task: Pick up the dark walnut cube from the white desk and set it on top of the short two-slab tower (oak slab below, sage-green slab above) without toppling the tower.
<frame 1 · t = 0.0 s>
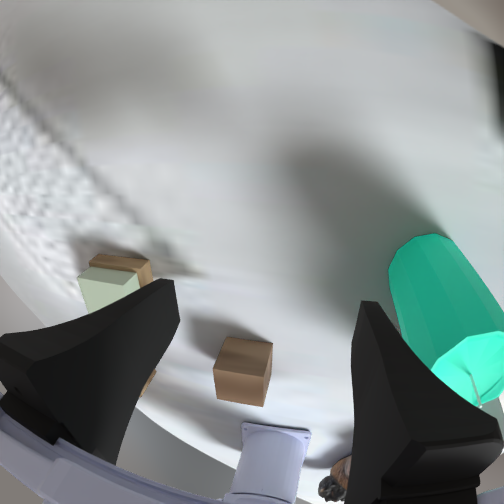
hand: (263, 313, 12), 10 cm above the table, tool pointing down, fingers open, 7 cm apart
skincare box: (433, 344, 22), on the table
slab top: (119, 294, 25), point 2 cm above the table, touching slab bottom
bison figurine: (360, 453, 32), on the table
slab bottom: (131, 281, 27), on the table, touching slab top
walnut cube: (249, 355, 27), on the table
candle: (425, 270, 20), on the table
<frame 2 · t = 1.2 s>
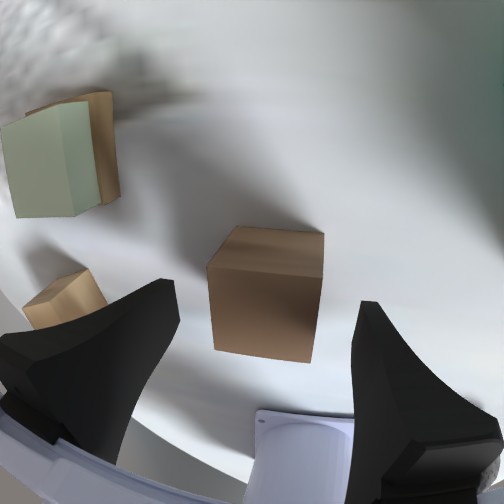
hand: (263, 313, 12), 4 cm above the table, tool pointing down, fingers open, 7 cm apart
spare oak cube: (86, 298, 19), on the table
slab top: (59, 158, 13), point 1 cm above the table, touching slab bottom
bison figurine: (428, 449, 20), on the table
slab bottom: (83, 147, 15), on the table, touching slab top
walnut cube: (278, 268, 15), on the table
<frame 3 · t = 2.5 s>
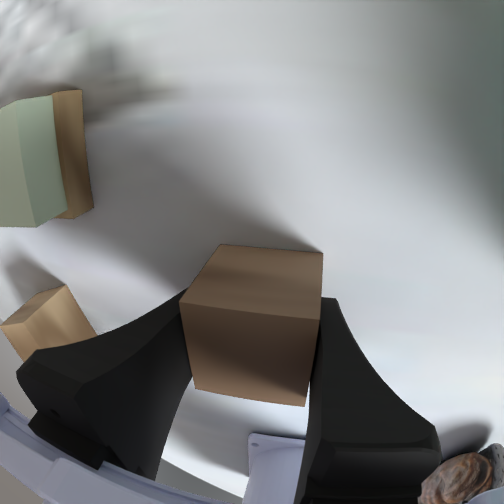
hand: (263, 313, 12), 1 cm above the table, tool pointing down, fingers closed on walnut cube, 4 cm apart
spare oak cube: (66, 315, 17), on the table
slab top: (25, 160, 11), point 1 cm above the table, touching slab bottom
bison figurine: (433, 467, 18), on the table
slab bottom: (55, 152, 13), on the table, touching slab top
walnut cube: (269, 292, 13), on the table, touching gripper
when the fingers open (7 cm above the table, at t = 5.5 s): walnut cube drops 1 cm, resting on slab top.
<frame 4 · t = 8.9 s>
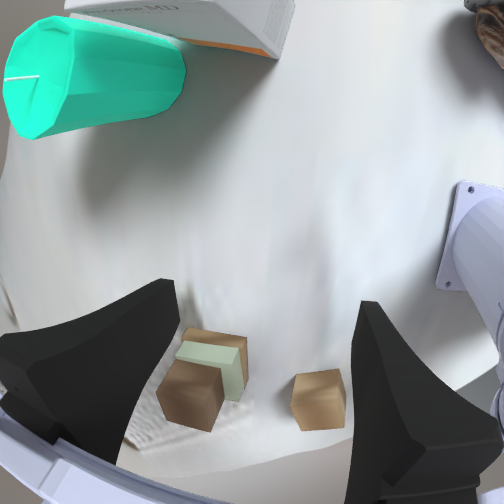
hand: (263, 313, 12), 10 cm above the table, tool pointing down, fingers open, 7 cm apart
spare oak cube: (322, 384, 27), on the table
skincare box: (245, 24, 16), on the table
slab top: (214, 364, 27), point 1 cm above the table, touching slab bottom, walnut cube
slab bottom: (220, 350, 29), on the table, touching slab top
walnut cube: (200, 379, 25), point 3 cm above the table, touching slab top
candle: (149, 77, 19), on the table
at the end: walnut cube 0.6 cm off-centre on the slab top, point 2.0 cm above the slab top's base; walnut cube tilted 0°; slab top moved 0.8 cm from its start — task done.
